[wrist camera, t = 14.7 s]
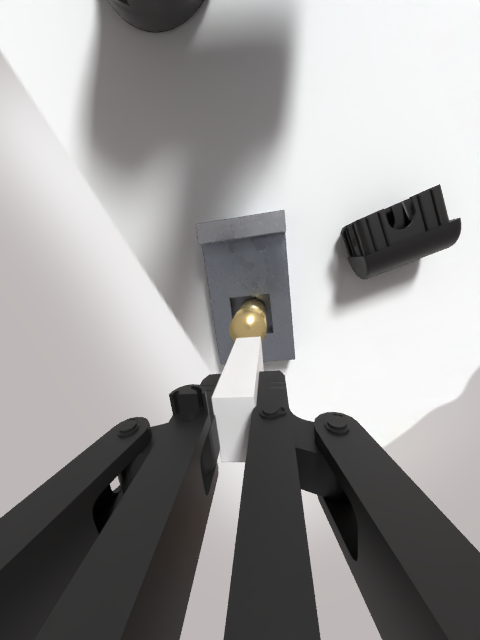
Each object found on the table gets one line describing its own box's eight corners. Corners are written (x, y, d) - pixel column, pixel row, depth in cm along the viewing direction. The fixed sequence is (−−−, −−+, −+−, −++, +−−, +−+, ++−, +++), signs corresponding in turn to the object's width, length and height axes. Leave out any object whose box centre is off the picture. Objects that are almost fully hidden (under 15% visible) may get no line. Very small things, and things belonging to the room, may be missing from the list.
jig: (205, 227, 34) (195, 221, 29) (281, 215, 33) (284, 207, 28) (224, 355, 39) (218, 368, 34) (292, 350, 37) (296, 363, 32)
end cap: (352, 278, 34) (372, 281, 27) (336, 230, 32) (353, 221, 26) (427, 249, 32) (468, 245, 25) (413, 196, 30) (452, 178, 24)
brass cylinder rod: (237, 300, 35) (226, 314, 25) (264, 296, 34) (263, 309, 24) (241, 326, 35) (232, 349, 26) (267, 323, 35) (268, 345, 25)
